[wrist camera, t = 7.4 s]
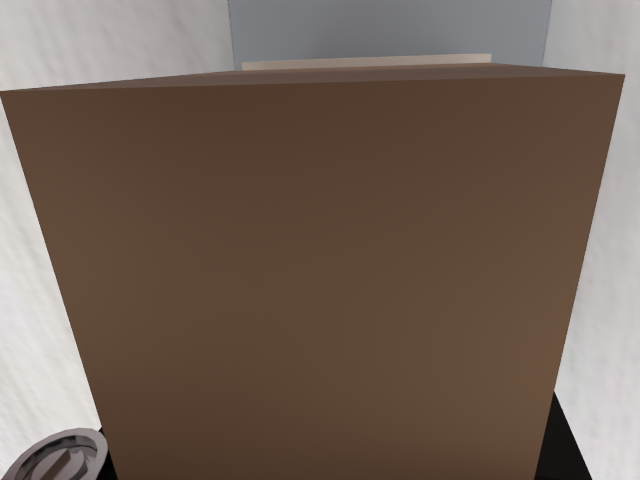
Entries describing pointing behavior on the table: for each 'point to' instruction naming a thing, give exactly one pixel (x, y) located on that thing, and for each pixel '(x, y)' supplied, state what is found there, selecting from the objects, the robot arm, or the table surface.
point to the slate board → (388, 29)
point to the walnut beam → (320, 262)
